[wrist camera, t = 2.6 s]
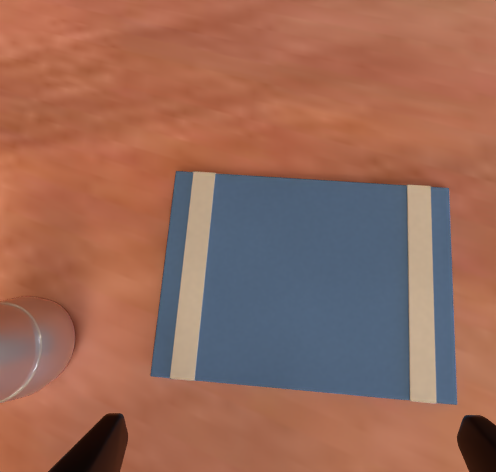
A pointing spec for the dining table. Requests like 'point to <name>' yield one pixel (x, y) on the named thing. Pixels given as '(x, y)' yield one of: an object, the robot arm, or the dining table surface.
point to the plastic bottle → (32, 345)
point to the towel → (309, 287)
